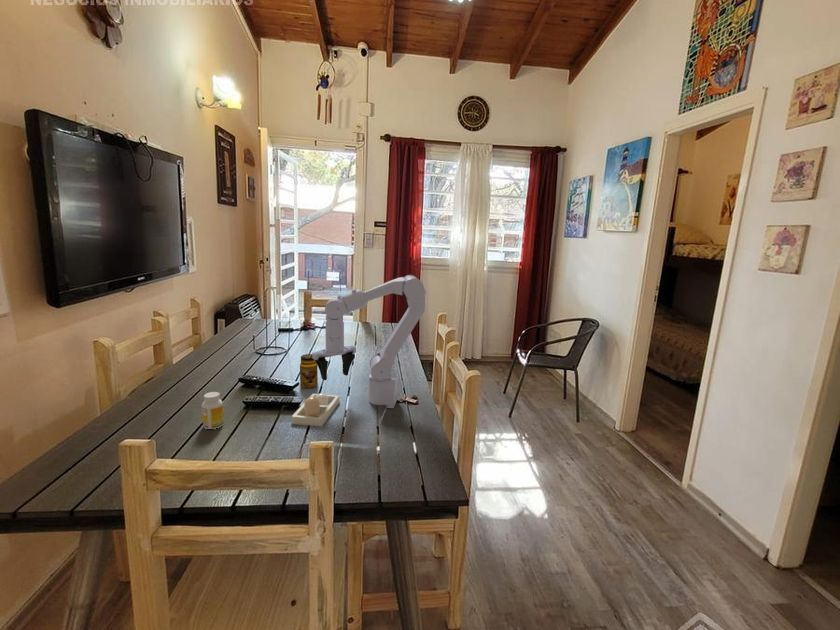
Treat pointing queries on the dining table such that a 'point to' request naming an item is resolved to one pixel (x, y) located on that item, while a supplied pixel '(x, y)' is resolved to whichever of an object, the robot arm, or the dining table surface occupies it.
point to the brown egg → (312, 407)
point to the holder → (324, 413)
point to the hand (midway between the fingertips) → (334, 376)
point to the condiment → (308, 372)
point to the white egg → (322, 399)
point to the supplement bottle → (212, 411)
